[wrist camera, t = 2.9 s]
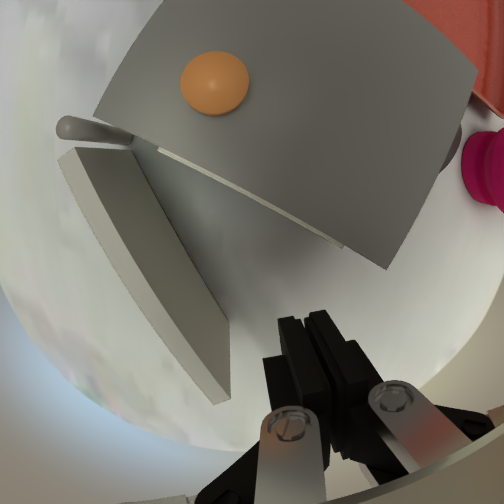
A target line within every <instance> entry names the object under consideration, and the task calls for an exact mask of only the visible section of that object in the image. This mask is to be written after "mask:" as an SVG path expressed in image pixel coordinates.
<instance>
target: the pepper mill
mask: <svg viewBox="0 0 504 504" xmlns="http://www.w3.org/2000/svg"><path fill="white" fill-rule="evenodd" d="M462 173H463V178H464V182H465V185H466V187H467V189H468V191H469V193H470V194H471V195H472V197H473V198H474V199H475V200H477V201H479V202H481V203H485V204H489V205H492V206H497V207H498V208H499V209H500V210H501V211H502V212H503V213H504V128H502V129H500V130H499V131H498V132H493V131H484V132H477V133H475V134H473V135H472V136H471V137H470V138H469V139H468V141H467V142H466V145H465V148H464V150H463V156H462Z"/></svg>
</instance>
